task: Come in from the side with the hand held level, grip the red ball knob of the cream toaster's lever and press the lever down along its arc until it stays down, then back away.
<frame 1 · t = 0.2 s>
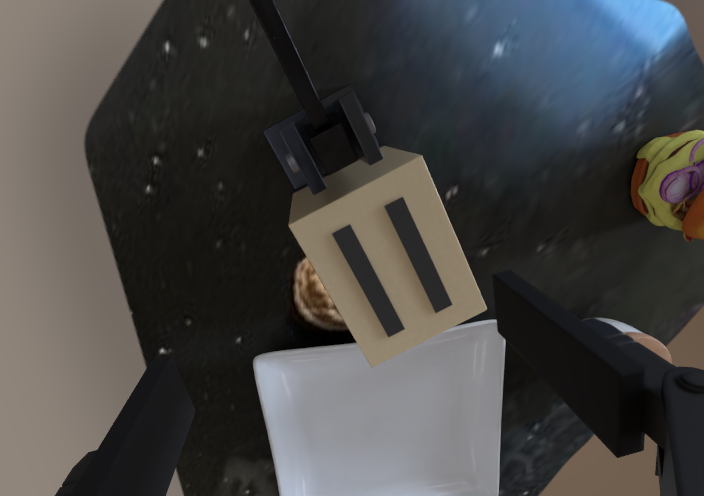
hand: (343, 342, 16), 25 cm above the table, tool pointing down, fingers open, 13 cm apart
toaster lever: (287, 55, 22), point 14 cm above the table, hinge at 20.0°
lever bracket: (321, 138, 37), on the table
square plate: (384, 418, 48), on the table
trinket box: (574, 341, 48), on the table
cheeseburger: (665, 178, 43), on the table
toaster: (366, 226, 40), on the table
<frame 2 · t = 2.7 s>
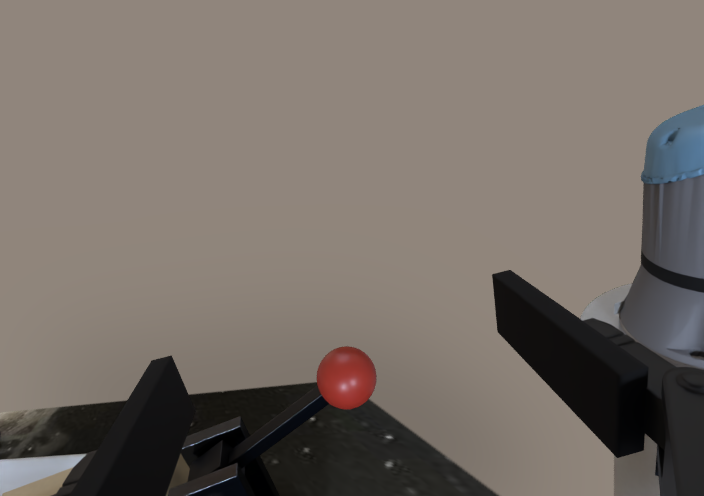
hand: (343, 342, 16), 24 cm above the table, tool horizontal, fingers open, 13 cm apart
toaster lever: (285, 422, 26), point 14 cm above the table, hinge at 20.0°
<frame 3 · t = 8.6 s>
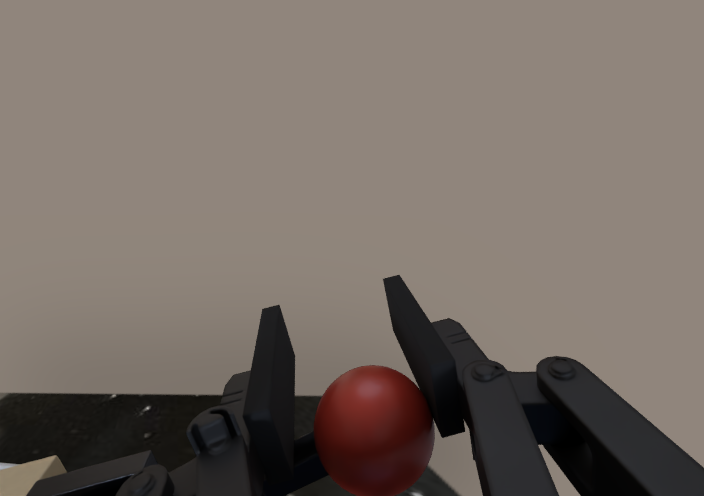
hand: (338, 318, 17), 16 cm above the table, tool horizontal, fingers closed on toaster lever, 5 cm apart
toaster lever: (234, 493, 13), point 13 cm above the table, hinge at 12.5°, touching gripper
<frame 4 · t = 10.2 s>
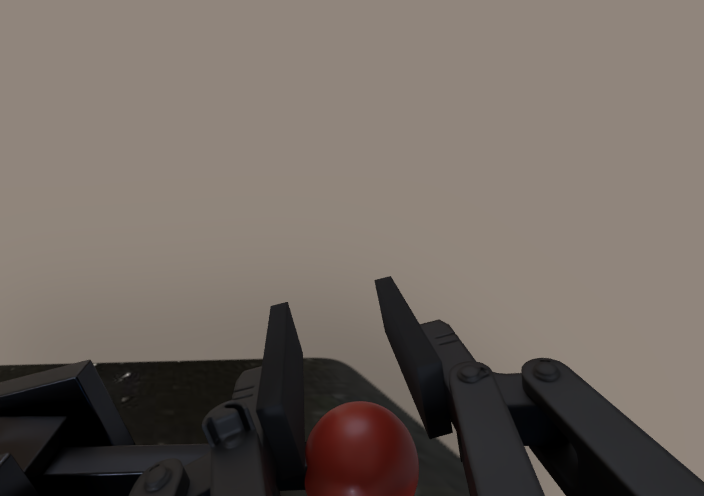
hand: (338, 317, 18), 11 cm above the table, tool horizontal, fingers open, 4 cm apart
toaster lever: (203, 468, 13), point 10 cm above the table, hinge at -18.2°
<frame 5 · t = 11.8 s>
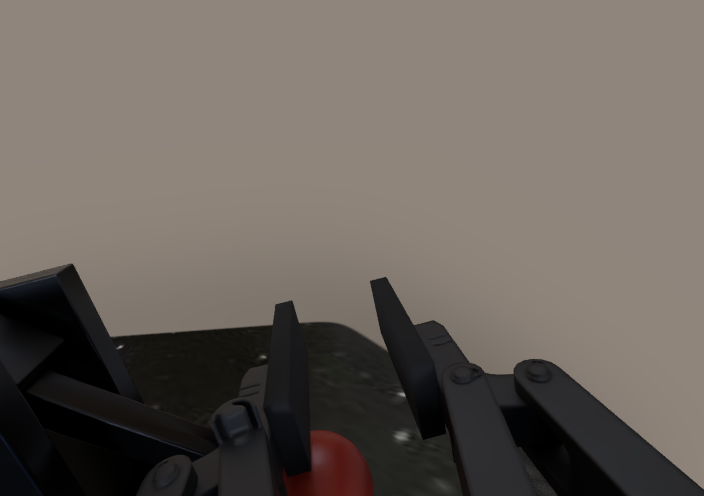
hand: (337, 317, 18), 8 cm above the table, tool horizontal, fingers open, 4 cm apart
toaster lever: (176, 443, 12), point 8 cm above the table, hinge at -45.6°, touching gripper
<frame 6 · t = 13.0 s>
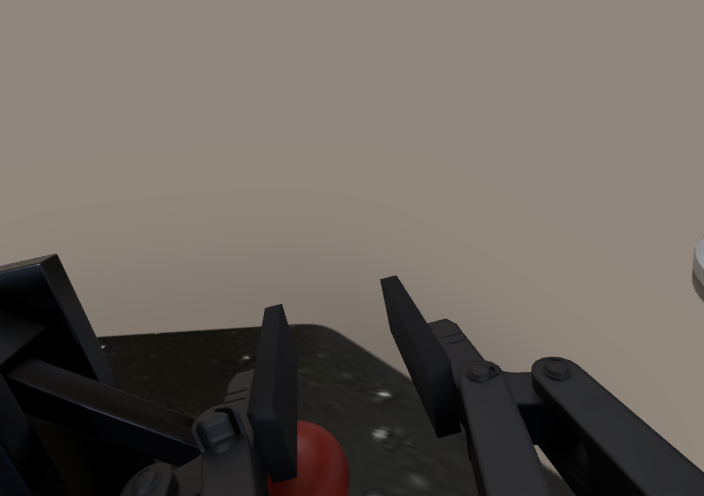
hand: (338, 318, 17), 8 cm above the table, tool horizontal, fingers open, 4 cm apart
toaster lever: (155, 430, 12), point 8 cm above the table, hinge at -45.0°, touching gripper
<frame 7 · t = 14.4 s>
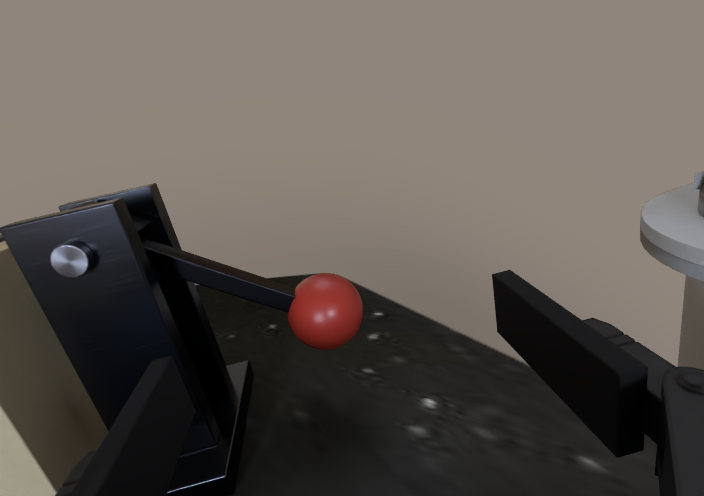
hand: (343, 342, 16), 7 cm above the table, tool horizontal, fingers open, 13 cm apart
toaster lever: (228, 279, 19), point 9 cm above the table, hinge at -35.4°
lever bracket: (193, 436, 22), on the table
toaster: (15, 485, 21), on the table
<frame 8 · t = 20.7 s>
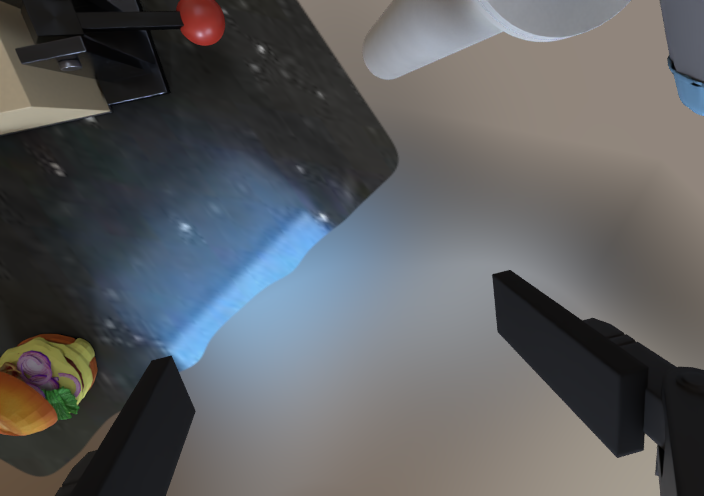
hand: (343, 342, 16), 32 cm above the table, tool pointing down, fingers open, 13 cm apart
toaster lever: (138, 21, 31), point 9 cm above the table, hinge at -35.4°
lever bracket: (124, 51, 38), on the table
cheeseburger: (58, 365, 48), on the table
toaster: (24, 72, 38), on the table
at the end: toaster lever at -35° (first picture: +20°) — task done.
